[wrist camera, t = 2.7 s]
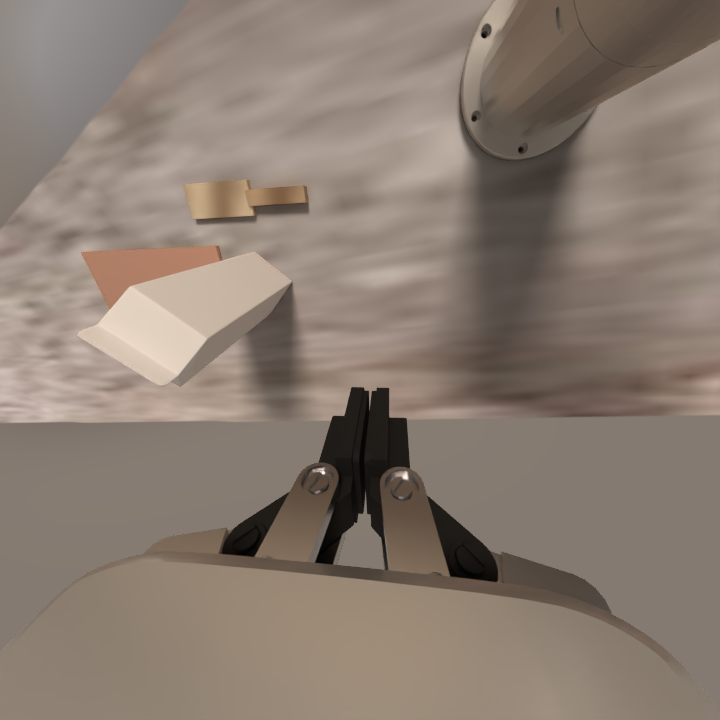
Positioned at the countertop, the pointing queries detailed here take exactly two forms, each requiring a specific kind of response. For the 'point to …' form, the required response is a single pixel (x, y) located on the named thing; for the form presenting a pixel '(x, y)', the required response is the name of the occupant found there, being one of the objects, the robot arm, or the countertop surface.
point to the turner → (237, 198)
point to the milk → (187, 317)
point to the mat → (143, 266)
